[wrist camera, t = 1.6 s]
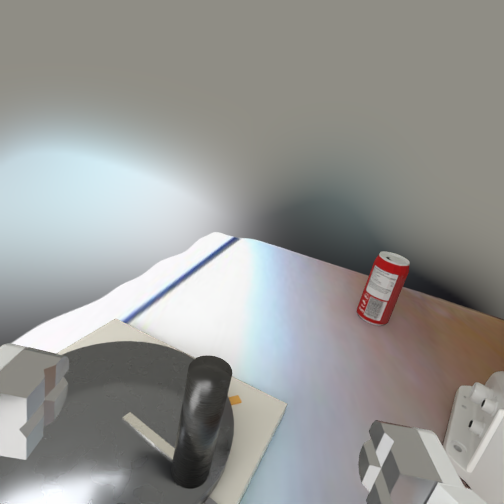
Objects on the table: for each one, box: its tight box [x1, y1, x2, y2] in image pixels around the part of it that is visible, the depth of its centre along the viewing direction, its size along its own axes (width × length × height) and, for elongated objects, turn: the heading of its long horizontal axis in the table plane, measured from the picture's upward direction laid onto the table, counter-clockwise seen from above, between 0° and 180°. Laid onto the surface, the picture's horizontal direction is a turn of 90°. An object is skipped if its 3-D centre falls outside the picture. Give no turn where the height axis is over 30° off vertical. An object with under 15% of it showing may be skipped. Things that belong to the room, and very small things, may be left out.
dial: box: [0, 341, 234, 504], centre depth 30 cm, size 20×20×12 cm
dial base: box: [56, 319, 287, 504], centre depth 33 cm, size 24×24×2 cm
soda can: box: [357, 252, 410, 325], centre depth 62 cm, size 6×6×12 cm
